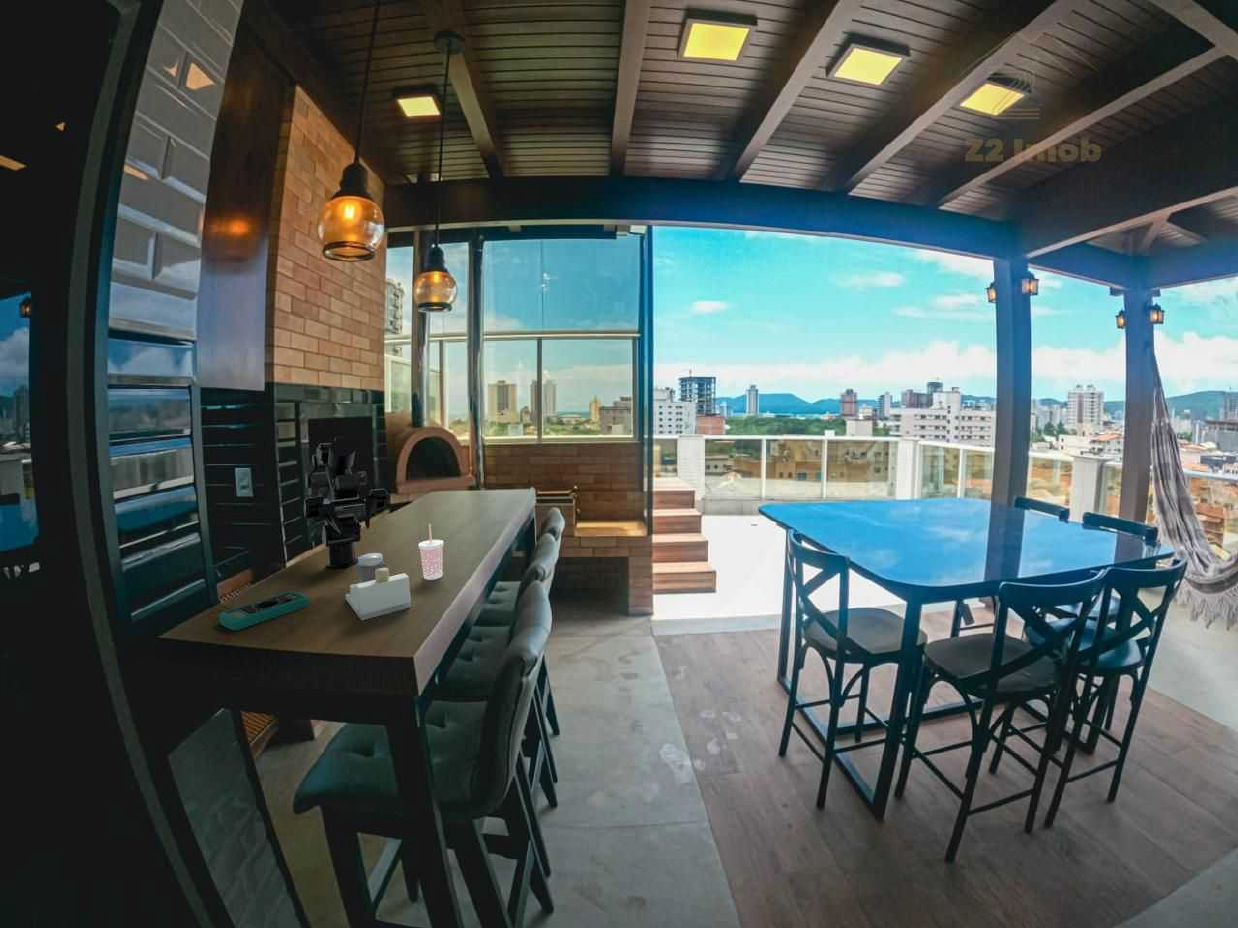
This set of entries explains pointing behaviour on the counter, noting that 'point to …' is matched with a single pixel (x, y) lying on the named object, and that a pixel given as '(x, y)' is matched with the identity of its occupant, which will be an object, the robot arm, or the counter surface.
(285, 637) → the counter surface
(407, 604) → the knob mount
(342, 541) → the robot arm
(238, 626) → the digital multimeter
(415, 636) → the counter surface
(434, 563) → the beverage cup
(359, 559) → the knob
